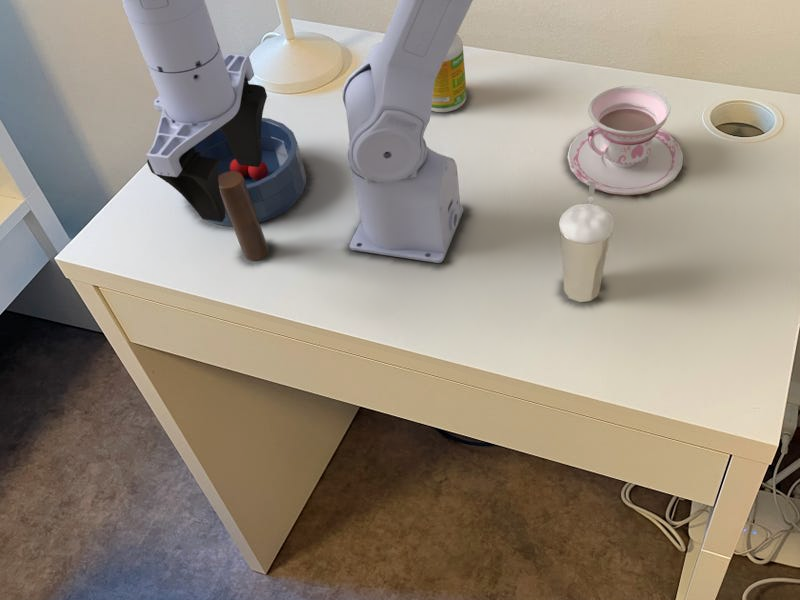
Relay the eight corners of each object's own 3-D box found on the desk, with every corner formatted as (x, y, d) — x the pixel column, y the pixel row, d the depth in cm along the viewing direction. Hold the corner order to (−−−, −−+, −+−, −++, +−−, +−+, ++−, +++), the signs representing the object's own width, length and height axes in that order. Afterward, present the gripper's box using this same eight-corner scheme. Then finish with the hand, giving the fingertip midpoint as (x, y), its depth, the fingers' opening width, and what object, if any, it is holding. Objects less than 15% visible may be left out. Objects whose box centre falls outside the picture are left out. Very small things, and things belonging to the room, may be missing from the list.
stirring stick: (272, 245, 81) (247, 172, 74) (262, 262, 79) (235, 189, 72) (250, 242, 81) (223, 169, 74) (239, 259, 80) (211, 186, 73)
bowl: (323, 158, 89) (314, 123, 85) (278, 233, 82) (266, 199, 78) (222, 145, 91) (209, 111, 88) (169, 217, 84) (154, 183, 81)
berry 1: (254, 170, 87) (249, 155, 86) (246, 182, 86) (241, 167, 85) (237, 168, 88) (232, 153, 86) (229, 180, 86) (224, 164, 85)
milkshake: (611, 269, 76) (619, 184, 68) (603, 311, 73) (611, 227, 65) (562, 263, 77) (566, 178, 69) (553, 304, 74) (555, 220, 66)
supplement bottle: (461, 115, 93) (454, 35, 85) (415, 112, 93) (404, 32, 86) (471, 88, 96) (465, 8, 88) (426, 85, 97) (417, 6, 89)
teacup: (632, 112, 91) (638, 62, 86) (706, 167, 85) (717, 116, 80) (544, 152, 88) (545, 102, 83) (615, 213, 81) (620, 162, 76)
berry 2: (273, 173, 87) (268, 157, 85) (265, 185, 86) (260, 169, 84) (255, 170, 87) (250, 155, 86) (248, 182, 86) (242, 167, 85)
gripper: (180, 1, 69) (227, 136, 79) (87, 100, 60) (154, 237, 71) (257, 8, 67) (294, 145, 78) (172, 111, 59) (227, 249, 69)
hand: (232, 190), depth 74 cm, fingers open, 7 cm apart
